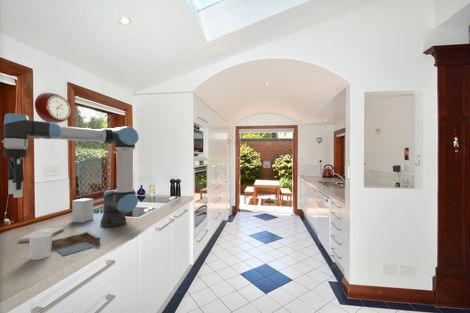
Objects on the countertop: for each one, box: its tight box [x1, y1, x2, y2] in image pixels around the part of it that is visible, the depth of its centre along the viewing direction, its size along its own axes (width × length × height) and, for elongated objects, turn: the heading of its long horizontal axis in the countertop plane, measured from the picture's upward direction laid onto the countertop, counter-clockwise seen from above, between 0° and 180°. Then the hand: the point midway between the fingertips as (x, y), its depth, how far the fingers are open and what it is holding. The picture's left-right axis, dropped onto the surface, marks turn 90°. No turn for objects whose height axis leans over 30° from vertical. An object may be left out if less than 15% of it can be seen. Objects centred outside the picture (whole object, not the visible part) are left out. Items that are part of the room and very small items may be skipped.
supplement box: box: [71, 198, 94, 223], centre depth 151 cm, size 9×9×15 cm
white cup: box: [28, 232, 53, 261], centre depth 97 cm, size 8×8×10 cm
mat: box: [54, 240, 93, 257], centre depth 105 cm, size 12×12×1 cm
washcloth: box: [18, 227, 65, 243], centre depth 121 cm, size 12×18×3 cm, turn 7°
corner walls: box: [51, 230, 101, 250], centre depth 107 cm, size 16×14×4 cm
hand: (15, 195), depth 96 cm, fingers open, 13 cm apart
